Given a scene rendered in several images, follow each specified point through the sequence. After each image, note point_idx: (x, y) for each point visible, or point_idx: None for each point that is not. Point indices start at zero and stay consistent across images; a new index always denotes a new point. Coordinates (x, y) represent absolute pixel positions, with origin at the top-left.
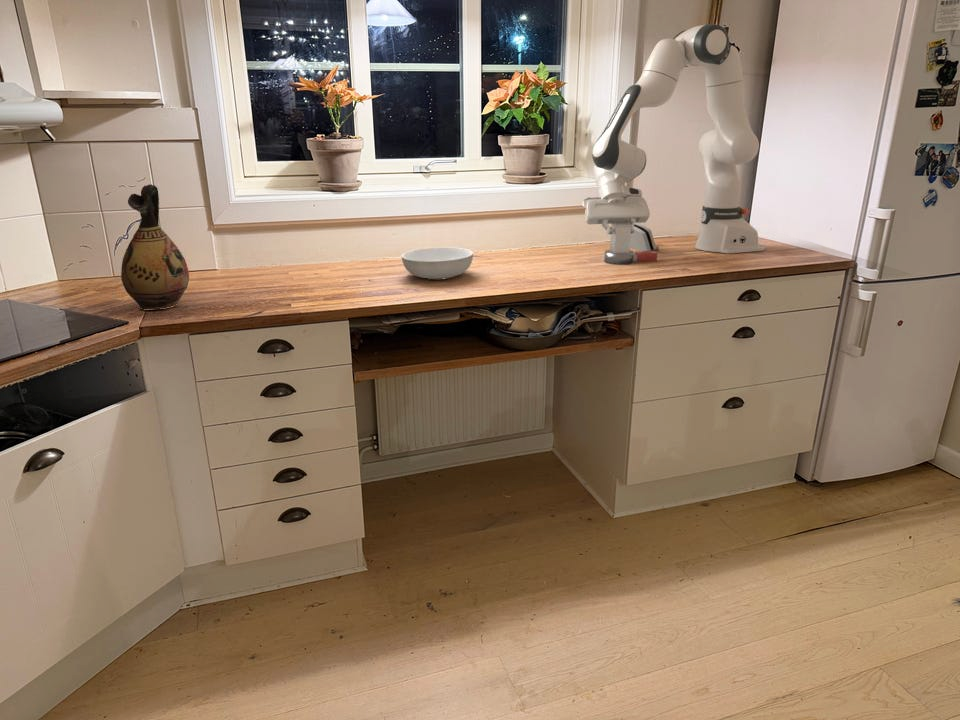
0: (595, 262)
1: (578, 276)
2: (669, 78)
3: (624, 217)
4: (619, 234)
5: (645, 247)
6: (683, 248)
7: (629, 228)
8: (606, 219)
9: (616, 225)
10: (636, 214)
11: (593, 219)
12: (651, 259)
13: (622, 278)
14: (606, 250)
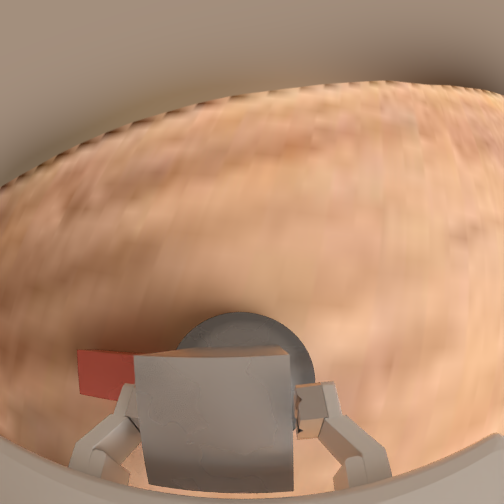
0: (348, 368)
1: (417, 159)
2: None
3: (156, 492)
4: (251, 351)
5: None
6: None
7: (160, 353)
8: (360, 482)
9: (285, 354)
10: (41, 474)
11: (471, 445)
12: (109, 351)
13: (295, 117)
14: (294, 428)
